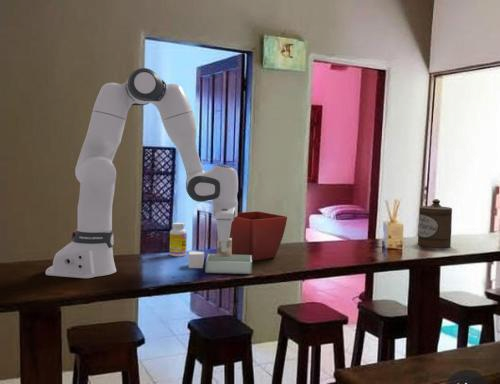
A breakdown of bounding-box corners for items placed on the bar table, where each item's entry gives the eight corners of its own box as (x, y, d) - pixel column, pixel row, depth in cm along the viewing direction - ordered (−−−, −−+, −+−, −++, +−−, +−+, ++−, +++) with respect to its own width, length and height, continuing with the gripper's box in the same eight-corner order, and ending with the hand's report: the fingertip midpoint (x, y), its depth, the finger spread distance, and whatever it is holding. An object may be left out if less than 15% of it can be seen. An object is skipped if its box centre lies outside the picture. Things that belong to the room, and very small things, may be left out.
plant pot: (250, 264, 198) (251, 219, 196) (219, 255, 212) (221, 213, 211) (287, 258, 210) (288, 216, 209) (256, 250, 225) (257, 211, 223)
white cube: (188, 268, 188) (188, 254, 188) (189, 264, 193) (190, 251, 193) (202, 268, 188) (202, 254, 188) (203, 265, 193) (203, 251, 193)
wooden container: (411, 242, 257) (413, 197, 255) (437, 242, 261) (439, 197, 260) (430, 248, 243) (433, 200, 241) (457, 247, 247) (460, 200, 245)
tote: (205, 272, 181) (205, 261, 181) (207, 264, 194) (208, 253, 194) (251, 274, 182) (252, 262, 181) (251, 265, 195) (251, 255, 194)
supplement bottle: (183, 257, 206) (183, 224, 205) (167, 256, 207) (167, 223, 206) (188, 254, 212) (189, 222, 211) (172, 253, 214) (173, 221, 213)
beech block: (216, 256, 185) (217, 239, 185) (217, 254, 190) (217, 237, 190) (231, 257, 185) (231, 240, 185) (231, 254, 190) (231, 237, 190)
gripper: (217, 207, 197) (216, 244, 198) (214, 214, 176) (213, 255, 178) (234, 208, 197) (233, 244, 198) (233, 214, 177) (232, 255, 178)
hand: (224, 249), depth 188 cm, fingers closed on beech block, 5 cm apart
